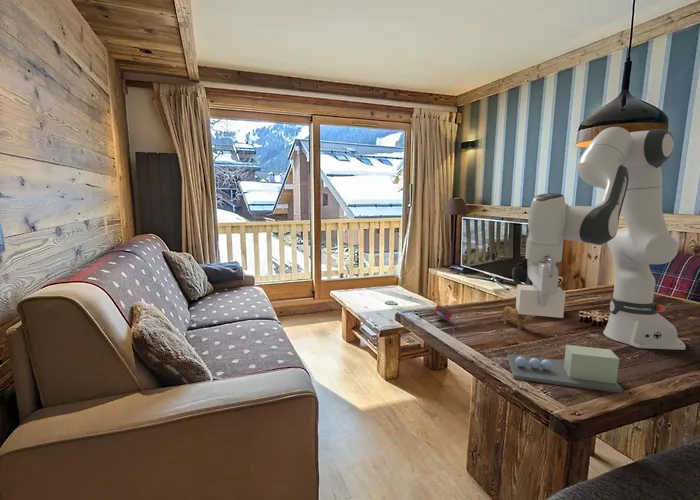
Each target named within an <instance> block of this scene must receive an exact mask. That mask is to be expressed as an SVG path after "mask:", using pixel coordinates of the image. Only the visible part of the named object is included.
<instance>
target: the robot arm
mask: <svg viewBox="0 0 700 500" xmlns="http://www.w3.org/2000/svg"><path fill="white" fill-rule="evenodd" d="M674 143H675V142H674V137H673V135H672V133H671V132H670V131H668V130H667V129H663V128H656V129H655V128H653V129H650V130H639V131H631V132H629V130H627V129H626V128H623V127H620V126H611V127H607V128H605V129H603V130H601V131H600V132H599V133H598V134H597V135H596V136H595V137H594V138H593V139H592V140H591V142H590V143H589V144H588V145H587V146H586V148H585V149H584V151H583V153H582V154H581V156H580V158H579V159H578V161H577V165H576V169H577V170H576V171H577V174H578V176H579V178H580V179H581V180H583V182H584V183H585V184H587V185H589V186H592V187H595V188H600V189H602V190H604V192H603V195H602V199H601V201H600V203H598V204H595V205H591V206H590V205H588V206H587V205H583V206H582V205H569V204H567V202H566V199H565V195H564V194H563V193H558V192H556V193H555V192H554V193H553V192H551V193H550V192H549V193H541V194H538V195H535V196H534V197H533V198H532V200H531V203H530V207H529V212H528V219H527V229H528V236H527V239H526V245H525V246H526V247H525V258H526V259H527V269H526V271H527V272H528V278H529V279H530V280H531V281H532V283H533V285H534V286H536V288H537V289H538V290H539V291H540V298H539V302H538V304H539V305H540V306H541V307H546V306H547V300H548V298H549V295H556V293H557V288H558V287H559V286H558V285H559V284H558V283H559V282H558V281H559V269H558V268H559V267H558V268H557V266H556V263H560V262H562V259H563V249H564V248H563V247H564V240H565V241H572V242H582V243H587V244H590V245H591V244H592V245H597V246H601V245H604V244H607V247H608V249H609V252H610V253H611V256H612V261H613V267H614V286H613V287H614V288H613V295H612V296H611V300H610V302H609V303H610V304H609V311H610V313H609V317H608V320H607V323H606V326H605V327H604V330H603V335H604V336H605V337H607V338H608V339H611V340H613V341H616V342H619V343H623V344H625V345H626V344H627V345H629V346H631V347H635V348H638V349H652V350H653V349H654V350H656V349H657V350H677V351H678V350H679V351H680V350H681V351H682V350H683V351H684V350H686V344H685V343H684V342H683V341H682V340H681V339H680V338H678V331H677V328H676V327H675V326H674V324H672V323H671V322H670V321H669V320H667V319H666V318H665V317H664V316H662V315H661V314H660V313H658V312H661V313H664V312H665V311H666V310H667V309H666V307H665V306H664V305H663V304H658V303H656V302H654V296H655V289H656V278H655V276H654V274H653V273H652V271H651V267H650V265H664V264H667V263H670V262H671V261H673V260H674V258H676V256H677V254H678V252H679V243H678V242H677V240H676V239H675V238H674V237H673V236H672V234H671V233H670V231H669V229H668V227H667V223H666V219H665V216H664V212H663V174H662V165H663V164H664V163H665V162H666V161H668V159H670V158H671V156H672V154H673V151H674V146H675V144H674ZM620 216H622V217H623V218H624V221H625V223H626V227H621V228H619V223H620Z"/></svg>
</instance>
